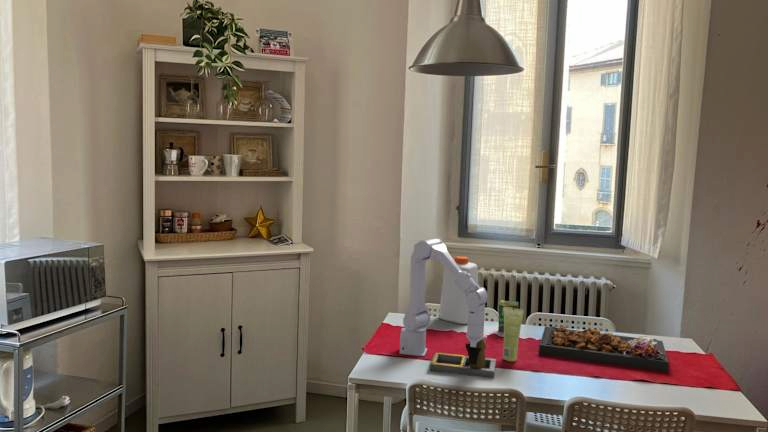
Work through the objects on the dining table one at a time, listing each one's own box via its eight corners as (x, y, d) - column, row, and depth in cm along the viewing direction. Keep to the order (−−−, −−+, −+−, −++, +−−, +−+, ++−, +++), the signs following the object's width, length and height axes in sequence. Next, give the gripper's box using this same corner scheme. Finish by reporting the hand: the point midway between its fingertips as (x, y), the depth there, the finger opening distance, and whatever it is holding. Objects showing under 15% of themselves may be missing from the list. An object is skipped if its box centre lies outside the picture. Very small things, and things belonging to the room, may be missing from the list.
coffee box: (497, 331, 262) (498, 301, 260) (498, 329, 265) (500, 299, 263) (516, 334, 259) (518, 303, 258) (517, 332, 262) (519, 301, 260)
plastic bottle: (452, 311, 289) (454, 252, 285) (481, 318, 280) (484, 257, 276) (435, 319, 277) (438, 257, 273) (465, 326, 268) (468, 262, 264)
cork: (485, 374, 215) (487, 343, 214) (468, 372, 216) (469, 341, 215) (486, 367, 221) (488, 338, 220) (469, 366, 222) (470, 336, 221)
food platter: (661, 351, 245) (663, 326, 244) (667, 374, 222) (670, 346, 221) (544, 336, 260) (545, 312, 258) (538, 355, 237) (540, 329, 235)
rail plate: (429, 371, 216) (430, 363, 216) (434, 359, 228) (434, 352, 228) (493, 378, 212) (494, 370, 211) (495, 365, 223) (496, 358, 223)
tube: (513, 356, 233) (516, 305, 231) (520, 361, 229) (524, 309, 226) (500, 357, 231) (503, 306, 229) (507, 362, 227) (510, 310, 224)
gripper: (486, 330, 209) (483, 368, 211) (488, 317, 223) (486, 354, 225) (464, 328, 210) (463, 366, 212) (468, 316, 224) (467, 352, 226)
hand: (473, 360), depth 218 cm, fingers open, 7 cm apart
